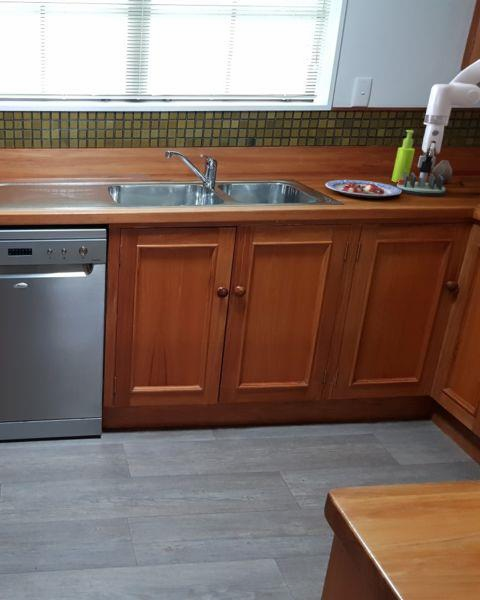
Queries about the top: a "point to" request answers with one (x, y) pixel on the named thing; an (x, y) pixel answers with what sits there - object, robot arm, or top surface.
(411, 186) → the dish rack
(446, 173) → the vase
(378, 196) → the ceramic plate
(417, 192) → the turntable base
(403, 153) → the soap dispenser
